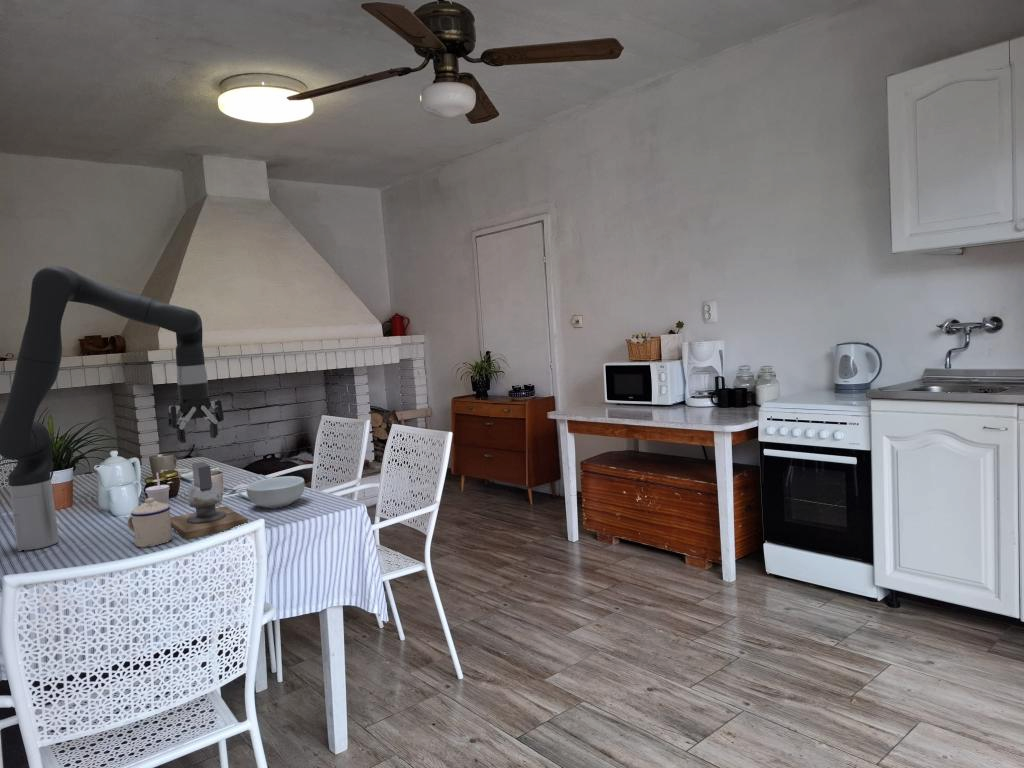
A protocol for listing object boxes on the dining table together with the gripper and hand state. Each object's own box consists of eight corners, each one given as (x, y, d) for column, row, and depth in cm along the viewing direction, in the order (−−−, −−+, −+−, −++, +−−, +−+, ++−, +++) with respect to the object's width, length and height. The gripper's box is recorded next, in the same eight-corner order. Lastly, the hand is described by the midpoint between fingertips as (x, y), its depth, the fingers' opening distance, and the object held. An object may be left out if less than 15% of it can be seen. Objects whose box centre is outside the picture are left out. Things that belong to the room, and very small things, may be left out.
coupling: (223, 503, 192) (219, 464, 191) (192, 509, 188) (188, 469, 187) (216, 497, 200) (212, 459, 199) (186, 502, 196) (181, 464, 195)
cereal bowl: (236, 512, 207) (233, 488, 206) (271, 497, 223) (269, 475, 222) (284, 513, 202) (281, 489, 201) (317, 498, 217) (315, 476, 217)
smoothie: (163, 522, 200) (157, 475, 199) (143, 522, 202) (138, 475, 200) (177, 516, 207) (172, 470, 205) (159, 516, 208) (153, 470, 207)
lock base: (185, 539, 181) (183, 517, 181) (168, 525, 197) (165, 504, 196) (248, 525, 191) (245, 504, 191) (226, 512, 207) (224, 493, 206)
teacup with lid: (181, 536, 185) (176, 493, 183) (156, 548, 176) (150, 503, 175) (144, 536, 188) (138, 494, 186) (117, 547, 179) (111, 503, 178)
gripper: (171, 385, 183) (178, 445, 184) (224, 379, 193) (229, 436, 195) (160, 384, 188) (166, 443, 189) (211, 379, 198) (217, 435, 200)
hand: (198, 440), depth 192 cm, fingers open, 8 cm apart
